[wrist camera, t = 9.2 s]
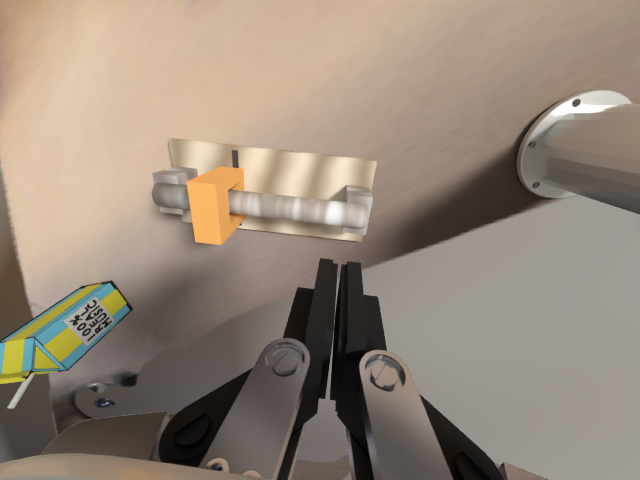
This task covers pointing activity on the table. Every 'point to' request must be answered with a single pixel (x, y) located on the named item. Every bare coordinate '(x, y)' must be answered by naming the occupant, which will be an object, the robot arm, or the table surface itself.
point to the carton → (61, 334)
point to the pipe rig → (276, 188)
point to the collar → (214, 204)
